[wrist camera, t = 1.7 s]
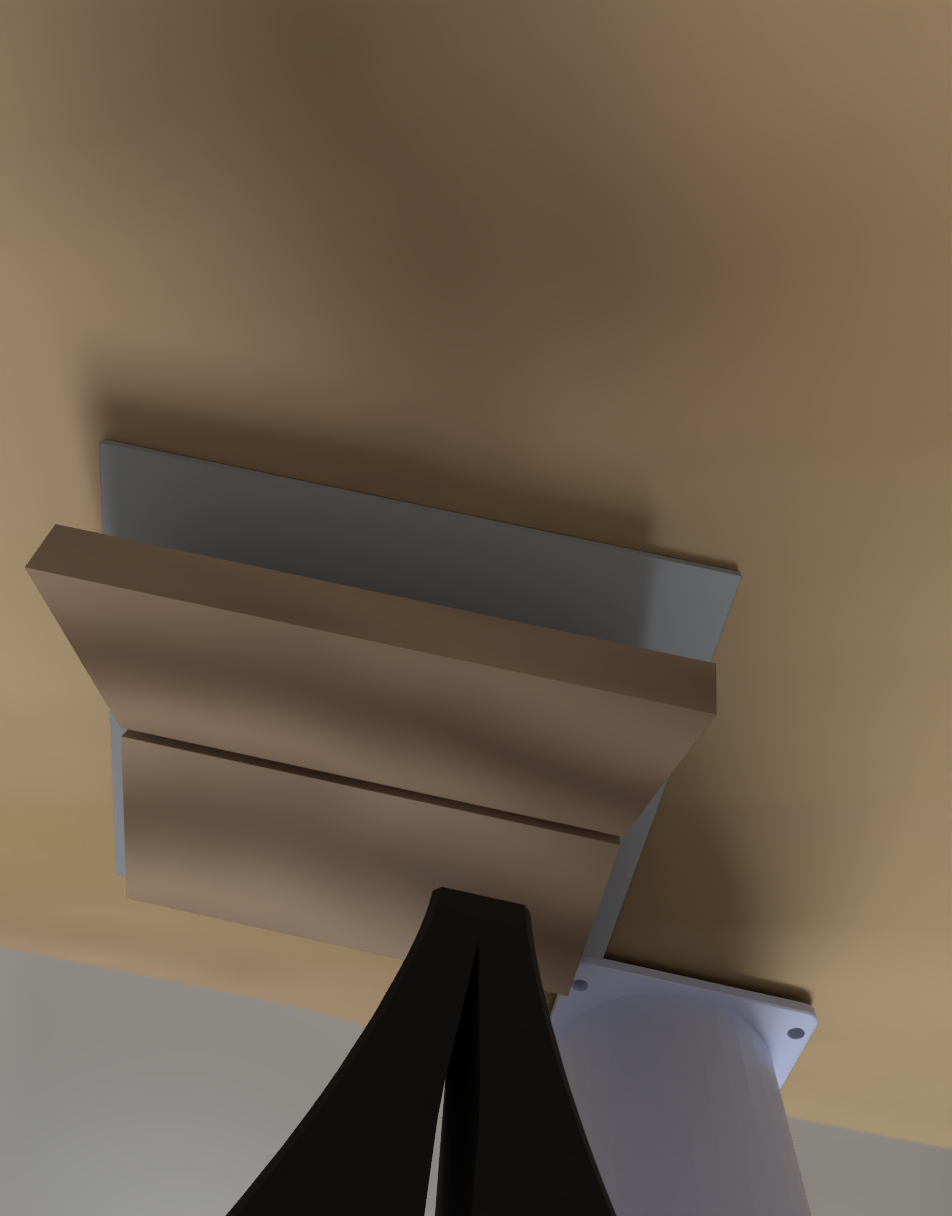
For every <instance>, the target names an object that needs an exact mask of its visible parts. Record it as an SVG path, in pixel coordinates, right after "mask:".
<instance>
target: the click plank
mask: <svg viewBox="0 0 952 1216" xmlns="http://www.w3.org/2000/svg"><path fill="white" fill-rule="evenodd" d="M25 568H26V570H27V572H28V573H29V575H30V577H31V578H32V580H33V582H34V583H35V585H36V587H37V588H38V590H39V592H40V593H41V595H42V597H43V598H44V600H45V602H46V603H47V605H48V607H49V608H50V610H51V612H52V613H53V615H54V617H55V618H56V620H57V622H58V623H59V625H60V627H61V629H62V630H63V632H64V634H65V635H66V637H67V639H68V640H69V642H70V644H71V645H72V647H73V649H74V650H75V652H76V654H77V655H78V657H79V659H80V660H81V662H82V664H83V665H84V667H85V669H86V670H87V672H88V674H89V675H90V677H91V679H92V680H93V682H94V684H95V685H96V687H97V689H98V690H99V692H100V694H101V695H102V697H103V699H104V700H105V702H106V704H107V705H108V707H109V709H110V710H111V712H112V714H113V715H114V717H115V719H116V720H117V722H118V724H119V725H120V727H121V728H125V729H130V730H134V731H139V732H143V733H148V734H153V735H157V736H162V737H166V738H171V739H176V740H180V741H185V742H189V743H194V744H199V745H203V746H208V747H212V748H217V749H222V750H226V751H231V752H235V753H240V754H245V755H249V756H254V757H258V758H263V759H268V760H272V761H277V762H281V763H286V764H291V765H295V766H300V767H304V768H309V769H314V770H318V771H323V772H327V773H332V774H337V775H341V776H346V777H350V778H355V779H360V780H364V781H369V782H373V783H378V784H383V785H387V786H392V787H396V788H401V789H406V790H410V791H415V792H419V793H424V794H429V795H433V796H438V797H442V798H447V799H452V800H456V801H461V802H465V803H470V804H475V805H479V806H484V807H488V808H493V809H498V810H502V811H507V812H511V813H516V814H521V815H525V816H530V817H534V818H539V819H544V820H548V821H553V822H557V823H562V824H567V825H571V826H576V827H580V828H585V829H590V830H594V831H599V832H603V833H608V834H613V835H617V836H622V837H623V836H624V835H625V834H626V832H627V831H628V830H629V829H630V827H631V826H632V825H633V823H634V822H635V821H636V819H637V818H638V817H639V815H640V814H641V813H642V811H643V810H644V809H645V808H646V806H647V805H648V804H649V802H650V801H651V800H652V798H653V797H654V796H655V794H656V793H657V792H658V790H659V789H660V788H661V787H662V785H663V784H664V783H665V781H666V780H667V779H668V777H669V776H670V775H671V773H672V772H673V771H674V770H675V768H676V767H677V766H678V764H679V763H680V762H681V760H682V759H683V758H684V756H685V755H686V754H687V752H688V751H689V750H690V749H691V747H692V746H693V745H694V743H695V742H696V741H697V739H698V738H699V737H700V735H701V734H702V733H703V732H704V730H705V729H706V728H707V726H708V725H709V724H710V722H711V721H712V720H713V718H714V717H715V716H716V664H715V663H711V662H706V661H701V660H697V659H692V658H687V657H682V656H678V655H673V654H668V653H663V652H659V651H654V650H649V649H644V648H640V647H635V646H630V645H626V644H621V643H616V642H611V641H607V640H602V639H597V638H592V637H588V636H583V635H578V634H573V633H569V632H564V631H559V630H554V629H550V628H545V627H540V626H536V625H531V624H526V623H521V622H517V621H512V620H507V619H502V618H498V617H493V616H488V615H483V614H479V613H474V612H469V611H465V610H460V609H455V608H450V607H446V606H441V605H436V604H431V603H427V602H422V601H417V600H412V599H408V598H403V597H398V596H393V595H389V594H384V593H379V592H375V591H370V590H365V589H360V588H356V587H351V586H346V585H341V584H337V583H332V582H327V581H322V580H318V579H313V578H308V577H304V576H299V575H294V574H289V573H285V572H280V571H275V570H270V569H266V568H261V567H256V566H251V565H247V564H242V563H237V562H233V561H228V560H223V559H218V558H214V557H209V556H204V555H199V554H195V553H190V552H185V551H180V550H176V549H171V548H166V547H161V546H157V545H152V544H147V543H143V542H138V541H133V540H128V539H124V538H119V537H114V536H109V535H105V534H100V533H95V532H90V531H86V530H81V529H76V528H72V527H67V526H62V525H57V524H55V526H54V527H53V528H52V530H51V531H50V533H49V534H48V535H47V537H46V538H45V540H44V541H43V542H42V544H41V545H40V547H39V548H38V550H37V551H36V552H35V554H34V555H33V557H32V558H31V559H30V561H29V562H28V564H27V565H26V567H25Z"/></svg>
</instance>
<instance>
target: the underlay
mask: <svg viewBox="0 0 952 1216" xmlns="http://www.w3.org/2000/svg"><path fill="white" fill-rule="evenodd" d="M99 445H100V471H101V496H102V521H103V534H105V535H109V536H114V537H119V538H124V539H128V540H133V541H138V542H143V543H147V544H152V545H157V546H161V547H166V548H171V549H176V550H180V551H185V552H190V553H195V554H199V555H204V556H209V557H214V558H218V559H223V560H228V561H233V562H237V563H242V564H247V565H251V566H256V567H261V568H266V569H270V570H275V571H280V572H285V573H289V574H294V575H299V576H304V577H308V578H313V579H318V580H322V581H327V582H332V583H337V584H341V585H346V586H351V587H356V588H360V589H365V590H370V591H375V592H379V593H384V594H389V595H393V596H398V597H403V598H408V599H412V600H417V601H422V602H427V603H431V604H436V605H441V606H446V607H450V608H455V609H460V610H465V611H469V612H474V613H479V614H483V615H488V616H493V617H498V618H502V619H507V620H512V621H517V622H521V623H526V624H531V625H536V626H540V627H545V628H550V629H554V630H559V631H564V632H569V633H573V634H578V635H583V636H588V637H592V638H597V639H602V640H607V641H611V642H616V643H621V644H626V645H630V646H635V647H640V648H644V649H649V650H654V651H659V652H663V653H668V654H673V655H678V656H682V657H687V658H692V659H697V660H701V661H706V662H711V660H712V657H713V654H714V652H715V649H716V646H717V643H718V641H719V638H720V635H721V632H722V630H723V627H724V624H725V621H726V619H727V616H728V613H729V610H730V608H731V605H732V602H733V599H734V597H735V594H736V591H737V588H738V586H739V583H740V580H741V577H742V576H741V574H740V572H738V571H734V570H729V569H724V568H719V567H714V566H710V565H705V564H700V563H695V562H690V561H686V560H681V559H676V558H671V557H666V556H661V555H657V554H652V553H647V552H642V551H637V550H633V549H628V548H623V547H618V546H613V545H609V544H604V543H599V542H594V541H589V540H585V539H580V538H575V537H570V536H565V535H561V534H556V533H551V532H546V531H541V530H537V529H532V528H527V527H522V526H517V525H513V524H508V523H503V522H498V521H493V520H489V519H484V518H479V517H474V516H469V515H464V514H460V513H455V512H450V511H445V510H440V509H436V508H431V507H426V506H421V505H416V504H412V503H407V502H402V501H397V500H392V499H388V498H383V497H378V496H373V495H368V494H364V493H359V492H354V491H349V490H344V489H340V488H335V487H330V486H325V485H320V484H316V483H311V482H306V481H301V480H296V479H291V478H287V477H282V476H277V475H272V474H267V473H263V472H258V471H253V470H248V469H243V468H239V467H234V466H229V465H224V464H219V463H215V462H210V461H205V460H200V459H195V458H191V457H186V456H181V455H176V454H171V453H167V452H162V451H157V450H152V449H147V448H143V447H138V446H133V445H128V444H123V443H119V442H114V441H109V440H105V441H102V442H100V443H99ZM110 721H111V746H112V771H113V796H114V821H115V847H116V872H117V875H121V876H125V877H126V868H125V838H124V807H123V777H122V746H121V736H122V735H123V734H124V733H125V732H126V731H127V730H128V729H125V728H121V727H120V725H119V724H118V722H117V720H116V719H115V717H114V715H113V714H112V712H111V710H110ZM668 778H669V777H668ZM667 781H668V779H667V780H666V781H665V783H664V784H663V785H662V787H661V788H660V789H659V790H658V792H657V793H656V794H655V796H654V797H653V798H652V800H651V801H650V802H649V804H648V805H647V806H646V808H645V809H644V810H643V811H642V813H641V814H640V815H639V817H638V818H637V819H636V821H635V822H634V823H633V825H632V826H631V827H630V829H629V830H628V831H627V832H626V834H625V835H624V836H623V837H622V836H620V847H619V850H618V853H617V856H616V859H615V862H614V865H613V868H612V871H611V874H610V876H609V879H608V882H607V885H606V888H605V891H604V894H603V897H602V900H601V902H600V905H599V908H598V911H597V914H596V917H595V920H594V923H593V926H592V929H591V931H590V934H589V937H588V940H587V943H586V946H585V949H584V952H583V955H582V956H588V957H593V958H597V959H602V960H603V957H604V954H605V952H606V949H607V946H608V943H609V941H610V938H611V935H612V932H613V930H614V927H615V924H616V921H617V919H618V916H619V913H620V910H621V908H622V905H623V902H624V899H625V897H626V894H627V891H628V888H629V886H630V883H631V880H632V877H633V875H634V872H635V869H636V866H637V864H638V861H639V858H640V855H641V853H642V850H643V847H644V844H645V842H646V839H647V836H648V833H649V830H650V828H651V825H652V822H653V819H654V817H655V814H656V811H657V808H658V806H659V803H660V800H661V797H662V795H663V792H664V789H665V786H666V784H667Z"/></svg>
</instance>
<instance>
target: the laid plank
mask: <svg viewBox="0 0 952 1216" xmlns="http://www.w3.org/2000/svg"><path fill="white" fill-rule="evenodd" d="M121 746H122V777H123V807H124V838H125V868H126V898H128V899H133V900H137V901H142V902H146V903H151V904H155V905H160V906H164V907H169V908H173V909H178V910H182V911H187V912H191V913H196V914H200V915H205V916H209V917H214V918H218V919H222V920H227V921H231V922H236V923H240V924H245V925H249V926H254V927H258V928H263V929H267V930H272V931H276V932H281V933H285V934H290V935H294V936H299V937H303V938H308V939H312V940H317V941H321V942H326V943H330V944H335V945H339V946H344V947H348V948H353V949H357V950H362V951H366V952H371V953H375V954H380V955H384V956H389V957H393V958H397V959H402V960H405V958H406V956H407V954H408V952H409V950H410V948H411V946H412V944H413V942H414V940H415V937H416V935H417V933H418V931H419V929H420V926H421V924H422V921H423V919H424V916H425V914H426V911H427V908H428V905H429V902H430V898H431V895H432V891H433V890H435V889H437V888H440V887H446V888H450V889H455V890H459V891H464V892H468V893H473V894H478V895H482V896H487V897H491V898H496V899H500V900H505V901H509V902H514V903H518V904H523V905H525V906H526V907H527V909H528V910H529V911H530V913H531V924H532V932H533V939H534V945H535V951H536V957H537V962H538V967H539V972H540V977H541V981H542V986H543V990H544V991H546V992H550V993H555V994H559V995H564V996H568V995H569V992H570V989H571V986H572V984H573V981H574V978H575V975H576V972H577V969H578V966H579V963H580V960H581V958H582V955H583V952H584V949H585V946H586V943H587V940H588V937H589V934H590V931H591V929H592V926H593V923H594V920H595V917H596V914H597V911H598V908H599V905H600V902H601V900H602V897H603V894H604V891H605V888H606V885H607V882H608V879H609V876H610V874H611V871H612V868H613V865H614V862H615V859H616V856H617V853H618V850H619V847H620V836H617V835H613V834H608V833H603V832H599V831H594V830H590V829H585V828H580V827H576V826H571V825H567V824H562V823H557V822H553V821H548V820H544V819H539V818H534V817H530V816H525V815H521V814H516V813H511V812H507V811H502V810H498V809H493V808H488V807H484V806H479V805H475V804H470V803H465V802H461V801H456V800H452V799H447V798H442V797H438V796H433V795H429V794H424V793H419V792H415V791H410V790H406V789H401V788H396V787H392V786H387V785H383V784H378V783H373V782H369V781H364V780H360V779H355V778H350V777H346V776H341V775H337V774H332V773H327V772H323V771H318V770H314V769H309V768H304V767H300V766H295V765H291V764H286V763H281V762H277V761H272V760H268V759H263V758H258V757H254V756H249V755H245V754H240V753H235V752H231V751H226V750H222V749H217V748H212V747H208V746H203V745H199V744H194V743H189V742H185V741H180V740H176V739H171V738H166V737H162V736H157V735H153V734H148V733H143V732H139V731H134V730H130V729H128V730H127V731H126V732H125V733H124V734H123V735H122V736H121Z"/></svg>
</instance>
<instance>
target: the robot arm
mask: <svg viewBox="0 0 952 1216" xmlns="http://www.w3.org/2000/svg"><path fill="white" fill-rule="evenodd" d="M581 980H582V981H581ZM817 1023H818V1020H817V1017H816V1014H815V1011H814V1008H812V1007H811V1006H810V1005H808V1004H805V1003H802V1002H798V1001H793V1000H789V999H784V998H780V997H775V996H771V995H766V994H762V993H757V992H753V991H748V990H744V989H739V988H735V987H730V986H726V985H721V984H717V983H712V982H708V981H703V980H699V979H694V978H689V977H685V976H680V975H676V974H671V973H667V972H662V971H658V970H653V969H649V968H644V967H640V966H635V965H631V964H626V963H622V962H617V961H613V960H608V959H604V958H603V960H602V959H597V958H593V957H588V956H582V958H581V960H580V963H579V966H578V969H577V972H576V975H575V978H574V981H573V984H572V986H571V989H570V992H569V995H568V996H564V995H559V994H557V997H556V1000H555V1003H554V1006H553V1009H552V1012H551V1015H549V1011H548V1007H547V1003H546V999H545V995H544V990H543V986H542V981H541V977H540V972H539V967H538V962H537V957H536V951H535V945H534V939H533V932H532V924H531V913H530V911H529V910H528V909H527V907H526V906H525V905H523V904H518V903H514V902H509V901H505V900H500V899H496V898H491V897H487V896H482V895H478V894H473V893H468V892H464V891H459V890H455V889H450V888H446V887H440V888H437V889H435V890H433V891H432V895H431V898H430V902H429V905H428V908H427V911H426V914H425V916H424V919H423V921H422V924H421V926H420V929H419V931H418V933H417V935H416V937H415V940H414V942H413V944H412V946H411V948H410V950H409V952H408V954H407V956H406V958H405V960H404V962H403V964H402V966H401V968H400V970H399V971H398V973H397V975H396V977H395V978H394V980H393V982H392V984H391V985H390V987H389V989H388V991H387V992H386V994H385V996H384V998H383V999H382V1001H381V1003H380V1005H379V1007H378V1008H377V1010H376V1012H375V1013H374V1015H373V1017H372V1018H371V1020H370V1021H369V1023H368V1025H367V1026H366V1028H365V1029H364V1031H363V1032H362V1034H361V1035H360V1037H359V1039H358V1040H357V1042H356V1043H355V1045H354V1046H353V1048H352V1049H351V1051H350V1052H349V1054H348V1055H347V1057H346V1058H345V1060H344V1061H343V1063H342V1065H341V1066H340V1068H339V1069H338V1071H337V1072H336V1074H335V1075H334V1076H333V1078H332V1079H331V1081H330V1082H329V1084H328V1085H327V1086H326V1088H325V1089H324V1091H323V1092H322V1094H321V1095H320V1096H319V1098H318V1099H317V1101H316V1102H315V1103H314V1105H313V1106H312V1107H311V1109H310V1110H309V1112H308V1113H307V1114H306V1116H305V1117H304V1118H303V1120H302V1121H301V1122H300V1124H299V1125H298V1126H297V1128H296V1129H295V1130H294V1132H293V1133H292V1134H291V1135H290V1137H289V1138H288V1140H287V1141H286V1142H285V1143H284V1145H283V1146H282V1147H281V1149H280V1150H279V1151H278V1152H277V1154H276V1155H275V1156H274V1157H273V1159H272V1160H271V1161H270V1162H269V1163H268V1165H267V1166H266V1167H265V1168H264V1170H263V1171H262V1172H261V1174H260V1175H259V1176H258V1177H257V1178H256V1180H255V1181H254V1182H253V1183H252V1185H251V1186H250V1187H249V1188H248V1190H247V1191H246V1192H245V1193H244V1195H243V1196H242V1197H241V1198H240V1200H239V1201H238V1202H237V1203H236V1204H235V1205H234V1207H233V1208H232V1209H231V1210H230V1211H229V1212H228V1214H227V1215H226V1216H424V1213H425V1206H426V1199H427V1191H428V1184H429V1176H430V1169H431V1162H432V1155H433V1147H434V1140H435V1133H436V1125H437V1119H438V1112H439V1108H440V1103H441V1098H442V1092H443V1087H444V1082H445V1092H444V1104H443V1117H442V1131H441V1143H440V1158H439V1171H438V1183H437V1196H436V1209H435V1216H811V1212H810V1208H809V1204H808V1200H807V1197H806V1192H805V1188H804V1185H803V1181H802V1177H801V1173H800V1169H799V1165H798V1161H797V1157H796V1153H795V1149H794V1145H793V1141H792V1137H791V1133H790V1129H789V1125H788V1121H787V1117H786V1113H785V1109H784V1105H783V1101H782V1097H781V1093H780V1089H781V1087H782V1085H783V1084H784V1082H785V1080H786V1078H787V1077H788V1075H789V1073H790V1071H791V1070H792V1068H793V1066H794V1064H795V1063H796V1061H797V1059H798V1057H799V1056H800V1054H801V1052H802V1050H803V1049H804V1047H805V1045H806V1044H807V1042H808V1040H809V1038H810V1037H811V1035H812V1033H813V1031H814V1030H815V1028H816V1026H817ZM445 1078H446V1079H445Z"/></svg>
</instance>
